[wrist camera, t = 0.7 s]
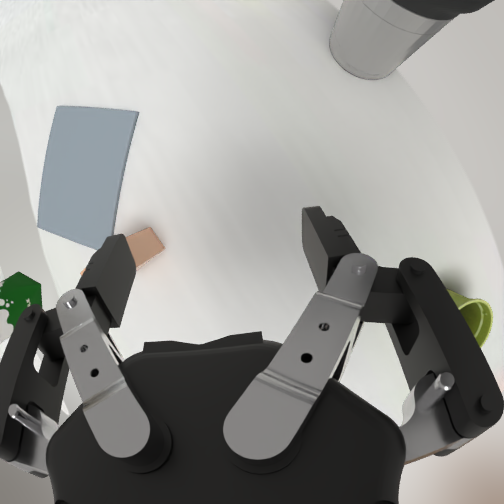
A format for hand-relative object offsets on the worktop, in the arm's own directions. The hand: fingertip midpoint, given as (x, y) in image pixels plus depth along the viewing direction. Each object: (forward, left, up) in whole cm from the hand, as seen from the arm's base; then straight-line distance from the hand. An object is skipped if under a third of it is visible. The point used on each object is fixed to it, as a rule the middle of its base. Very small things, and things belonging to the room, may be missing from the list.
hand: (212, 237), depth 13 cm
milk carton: (+26, -37, -23) cm, 51 cm away
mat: (+2, -26, -23) cm, 35 cm away
